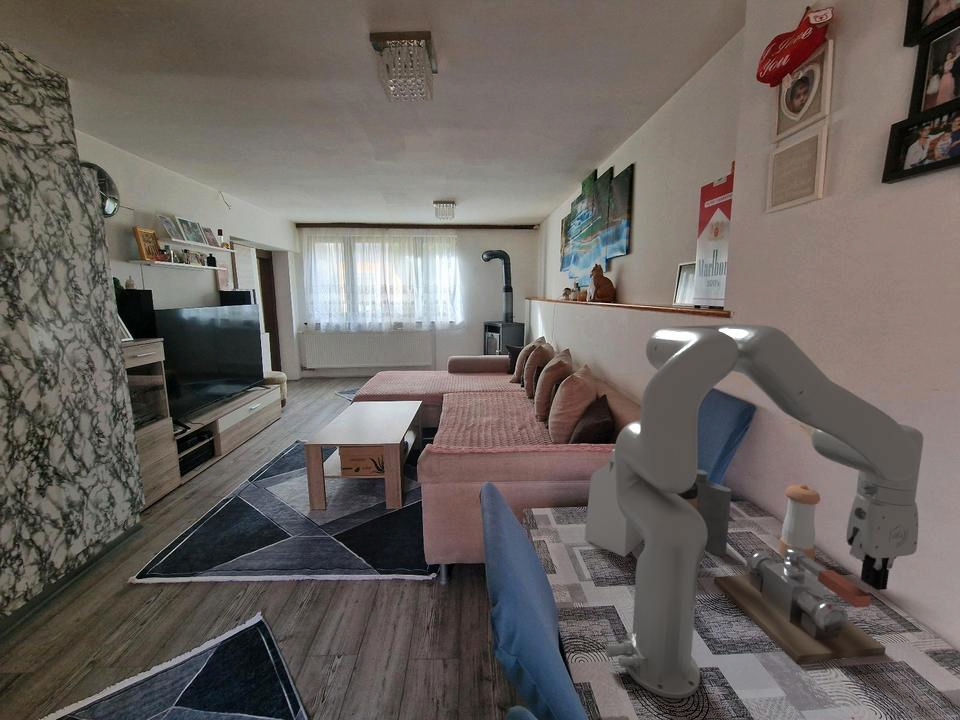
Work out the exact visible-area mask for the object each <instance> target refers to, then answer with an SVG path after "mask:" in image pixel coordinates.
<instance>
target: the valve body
mask: <svg viewBox="0 0 960 720" xmlns="http://www.w3.org/2000/svg"><path fill="white" fill-rule="evenodd" d="M746 568H747V569H748V570H749V571H750V584H751V585H752V586H753V587H754V588H755V589H757V590H758V591H759V592H762V596H761V598H762V599H764V600H765V601H766V602H767V603H768V604H769V605H770V606H772V607H773V608H774V609H775V610H776V611H777V612H778V613H780V614H781V615H782V616H783V617H784V618H785V619H786V620H788V621H789V622H795V621H801V628H802V629H803V630H804V631H805V632H806V633H808V634H809V635H810V636H811V637H812V638H813V639H815V640H816V639H826V638H837V637H838V636H839V632H840V631H842V630H843V629H844V627H845V626H846V624H847V621H848V620H849V615H848V613H847V612H848V611H846V609H844V608H843V607H842V606H840V605H839V604H838V603H837V602H835V601H834V600H832V599H829V598H825V597H824V595H825V588H826V586H824V585H823V584H822V583H820V582H819V581H818V578H817V577H815V576H814V575H812V574H810V573H809V571H806V570H807V569H806V568H804V567H803V566H801V565H797V564H794V563H792V562H790V560H788V559H787V558H786V557H784V559H783V563H777V561H776V559H775V557H774V556H771V555H770V554H769V553H767V551H765V550H761V549H758V550H755V551H753V552H751V553H750V554H749V556H747V559H746Z"/></svg>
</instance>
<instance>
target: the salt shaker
mask: <svg viewBox="0 0 960 720" xmlns="http://www.w3.org/2000/svg"><path fill="white" fill-rule="evenodd" d="M785 494H786V497H787V498H788V500H787V509H786V510H787V512H786V515H785V518H784V520H783V524H782V532H781V533H782V534H781V536H780V538H779V545H778V551H779V553H780V555H782V556H783V557H784V558H786V549H787V547H796V548H799V549H802V550H803V551H805V552H806V556H807V557H809V558H810V559H812V560H813V561H814V562H815V555H816V554H815V553H816V546H815V539H816V526H815V516H816V515H815V514H816V512H815V511H816V506H817V505H818V504H819V503H820V502H821V496H820V494H819V492H818V491H817V490H816V489H813V488H812V487H808V485H807V484H804V483H801V484H792V485H789V486H788V487H786V489H785Z"/></svg>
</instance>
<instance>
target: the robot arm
mask: <svg viewBox="0 0 960 720" xmlns="http://www.w3.org/2000/svg"><path fill="white" fill-rule="evenodd" d="M645 356H646V358H647V360H648V361H649V364H650V365H651V367H653V368H655V369H656V370H657V371H656V373H655V374H654V375H653V376H652V378H651V379H650V380H649V382H647V385H646V386H645V389H644V391H643V394H642V398H641V402H640V420H635V421H632V422H630V423H628V424H626V425H625V426H624V427H623V428H622V429H621V431H620V432H619V434H618V435H617V438H616V442H615V445H614V449H615V482H616V498H617V503H618V507H619V509H620V511H621V513H622V514H623V515H624V517H625V518H626V519H627V520H628V521H629V522H630V523H631V525H632V526H633V527H634V528H635V529H636V530H637V531H638V532H639V533H640V535H641V536H642V537H643V541H644V548H643V550H642V552H641V553H640V555H639V556H638V558H637V562H636V566H635V585H634V587H635V588H634V601H633V603H634V604H633V620H632V632H628V633H626V639H625V640H622V641H621V643H616V642H615V643H614V642H613V643H606V644H605V646H604V648H605V654H606V656H607V658H612V657H613V658H617V657H618V658H617V659H618V665H619V666H620V667H621V668H625V670H626V671H627V673H628V674H629V676H630V677H631V678H632V679H633V680H634V681H635V682H636V683H637V684H638V685H640V686H641V687H642V688H644V689H645V690H647V691H648V692H651V693H653V694H654V695H657V696H660V697H663V698H667V699H676V700H679V699H685V698H689V697H691V696H692V695H693V694H695V693H696V692H697V690H699V687H700V684H701V683H700V682H701V672H700V669H699V665H698V664H697V662H696V660H695V658H693V656H692V653H693V652H692V649H693V640H694V638H693V636H694V625H695V611H696V602H697V600H696V599H697V597H696V596H697V587H698V586H697V585H698V578H699V577H698V576H699V571H700V566H701V561H702V557H703V555H704V551H705V546H706V543H707V538H708V532H707V527H706V524H705V522H704V520H703V518H702V516H701V515H700V514H699V512H698V511H697V510H696V509H695V508H694V507H693V506H692V505H691V504H689V503H688V502H687V501H686V500H684V499H683V498H682V497H680V496H679V495H677V494H679V493H684V492H686V491H687V490H689V489H690V488H691V487H692V486H693V484H694V482H695V480H696V476H697V469H698V465H699V464H698V462H699V461H698V459H699V458H698V452H699V451H698V419H699V410H700V407H701V404H702V401H703V400H704V399H705V397H706V396H707V394H709V392H711V390H712V389H713V388H714V387H716V385H717V384H719V383H720V382H721V381H723V380H724V379H725V378H726V377H727V376H728V375H730V373H731V372H736V373H740V374H743V375H745V376H747V378H748V379H749V380H750V381H751V382H752V383H753V384H755V385H756V387H758V389H760V391H762V393H764V394H765V396H767V398H769V400H770V401H772V403H773V404H774V405H776V406H777V408H778V409H779V410H780V411H782V412H783V413H785V414H786V415H788V416H790V418H791V417H792V418H793V419H795V420H797V421H799V422H801V423H803V424H805V425H807V426H809V427H811V428H814V430H813V433H812V434H811V445H812V447H813V449H814V451H816V453H817V454H819V455H821V456H822V457H823V458H826V459H827V460H829V461H831V462H834V463H837V464H839V465H842V466H845V467H847V468H851V469H854V470H857V471H858V475H857V476H858V477H857V486H856V491H855V492H856V494H855V497H854V499H853V502H852V506H851V510H850V512H849V516H848V522H847V527H846V543H847V545H848V546H850V550H849V555H850V556H851V557H853V558H855V559H857V560H859V561H860V562H862V565H861V574H860V580H861V581H862V582H863V583H865V584H867V585H868V586H870V587H872V588H873V589H875V590H876V591H882V590H883V591H884V590H887V589H888V580H889V574H890V573H889V572H890V570H891V569H892V568H893V566H894V562H895V560H896V559H897V557H905V556H910V555H913V554H915V553H916V551H917V548H918V540H919V510H918V504H917V502H916V497H917V491H918V490H917V489H918V481H919V474H920V467H921V462H922V461H921V460H922V454H923V445H924V436H923V433H922V432H921V431H920V430H919V429H917V428H915V427H912V426H909V425H905V424H903V423H901V424H900V423H898V422H897V421H896V420H895V419H893V418H892V417H891V416H890V415H888V414H887V413H886V412H884V411H883V410H882V409H880V408H879V407H877V406H875V405H873V404H872V403H870V402H868V401H867V400H865V399H863V398H861V397H859V396H857V395H856V394H855V393H853V392H851V391H849V390H848V389H846V388H845V387H843V386H840V385H839V384H837V383H835V382H834V381H832V380H831V379H830V378H829V377H828V376H827V375H826V374H825V373H824V372H823V371H822V370H821V369H820V368H819V367H818V366H817V365H816V364H815V362H813V361H812V360H811V359H810V357H809V356H807V354H806V353H805V352H804V351H803V349H801V348H800V347H799V346H798V345H797V344H796V343H795V342H794V340H793V339H791V337H789V336H788V334H786V333H785V332H784V331H782V330H780V329H779V328H776V327H773V326H771V325H770V326H769V325H762V324H759V325H758V324H742V323H741V324H739V323H737V324H736V323H730V324H729V323H727V324H726V323H725V324H709V325H678V326H677V325H675V326H674V325H673V326H666V327H663V328H662V327H661V328H660V329H657V330H656V331H655V332H654V333H653V334H652V335H651V336H650V337H649V339H648V340H647V343H646V346H645Z"/></svg>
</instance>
